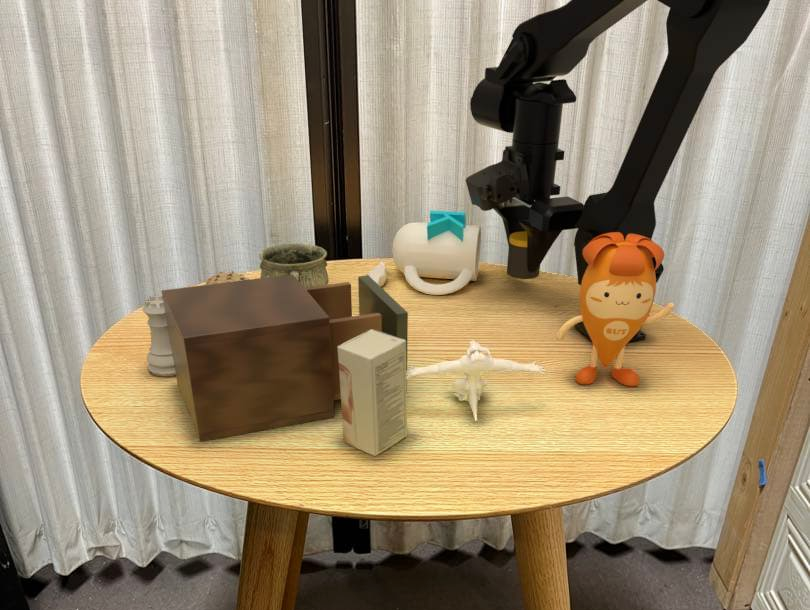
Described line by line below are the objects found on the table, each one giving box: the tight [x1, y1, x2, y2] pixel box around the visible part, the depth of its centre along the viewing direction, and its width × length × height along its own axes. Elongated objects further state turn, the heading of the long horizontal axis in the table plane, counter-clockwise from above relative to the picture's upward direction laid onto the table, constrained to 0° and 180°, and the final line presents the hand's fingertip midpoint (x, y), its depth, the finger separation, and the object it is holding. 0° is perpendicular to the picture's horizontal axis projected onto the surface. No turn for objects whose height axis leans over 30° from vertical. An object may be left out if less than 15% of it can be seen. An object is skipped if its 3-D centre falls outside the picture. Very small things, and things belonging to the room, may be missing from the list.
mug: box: [391, 210, 482, 296], centre depth 113 cm, size 12×9×12 cm
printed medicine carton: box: [338, 329, 408, 457], centre depth 77 cm, size 5×4×10 cm
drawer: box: [305, 274, 409, 401], centre depth 86 cm, size 14×11×9 cm
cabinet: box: [161, 274, 335, 442], centre depth 83 cm, size 14×13×11 cm
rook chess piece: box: [142, 294, 176, 377], centre depth 90 cm, size 4×4×8 cm
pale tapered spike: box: [366, 261, 388, 287], centre depth 112 cm, size 15×3×2 cm, turn 172°
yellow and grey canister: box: [506, 231, 541, 280], centre depth 110 cm, size 4×4×5 cm
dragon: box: [406, 339, 548, 421], centre depth 83 cm, size 15×7×8 cm, turn 96°
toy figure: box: [555, 232, 675, 387], centre depth 88 cm, size 12×8×15 cm
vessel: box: [258, 242, 329, 288], centre depth 107 cm, size 12×9×6 cm
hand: (523, 266), depth 111 cm, fingers closed on yellow and grey canister, 4 cm apart
